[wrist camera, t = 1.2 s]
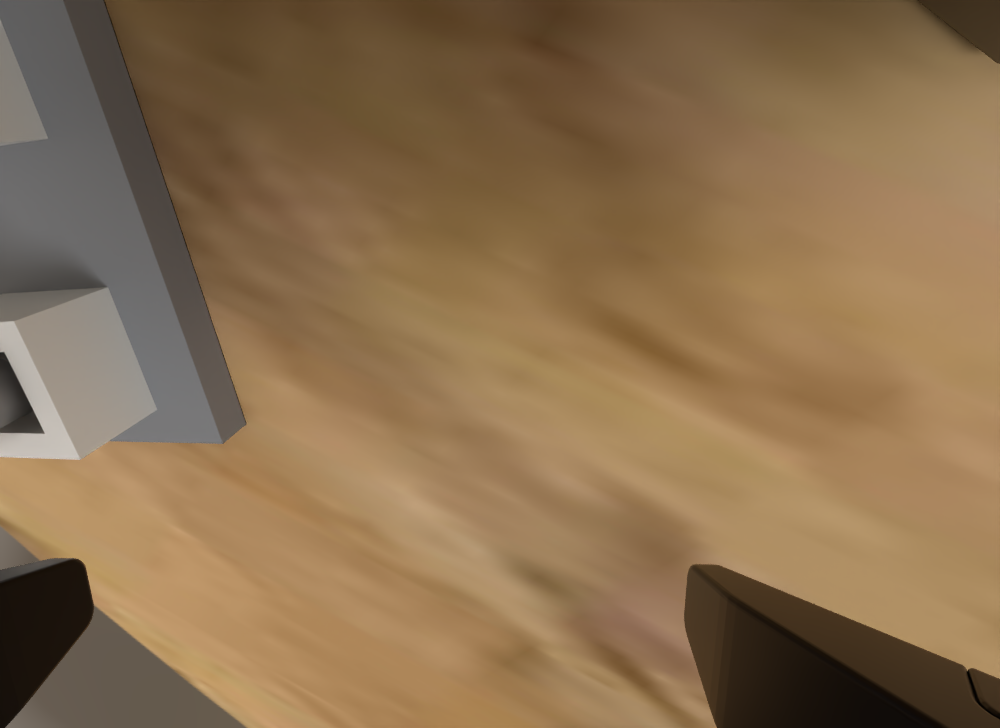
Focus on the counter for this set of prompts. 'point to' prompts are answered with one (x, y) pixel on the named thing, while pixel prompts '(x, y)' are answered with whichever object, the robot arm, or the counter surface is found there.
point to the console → (94, 252)
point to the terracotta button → (11, 396)
